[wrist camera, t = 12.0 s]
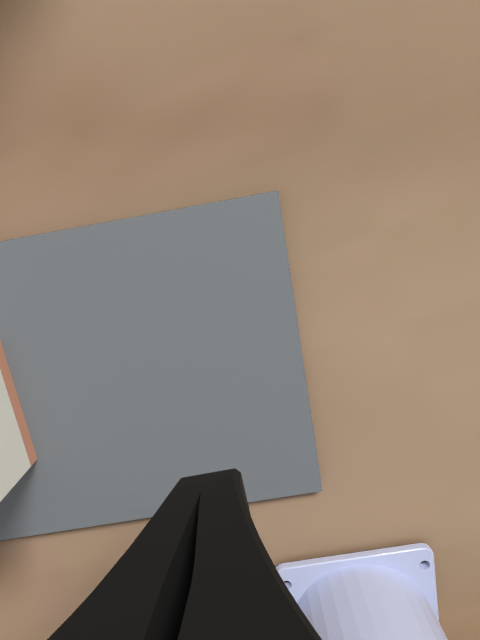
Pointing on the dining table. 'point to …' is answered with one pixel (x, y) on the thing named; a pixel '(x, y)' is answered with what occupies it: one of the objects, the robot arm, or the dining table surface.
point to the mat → (154, 363)
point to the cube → (12, 433)
